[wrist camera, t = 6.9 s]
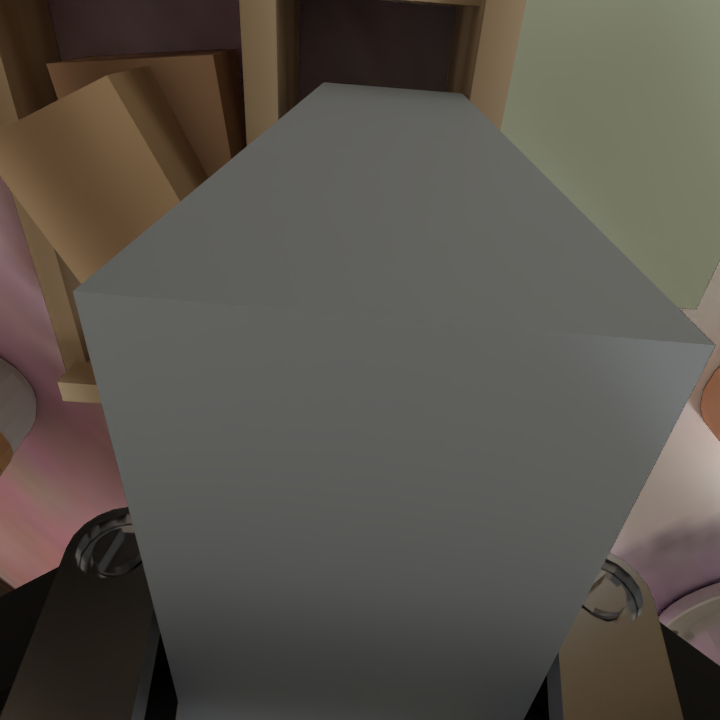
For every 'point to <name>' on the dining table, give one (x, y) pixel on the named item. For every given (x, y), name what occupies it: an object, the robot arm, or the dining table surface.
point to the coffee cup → (14, 411)
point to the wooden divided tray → (262, 109)
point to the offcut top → (99, 167)
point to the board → (628, 126)
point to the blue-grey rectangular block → (378, 413)
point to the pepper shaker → (712, 404)
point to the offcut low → (179, 94)
